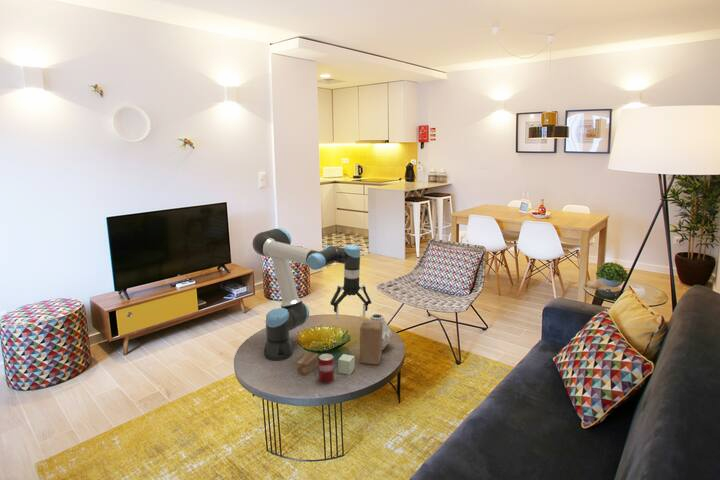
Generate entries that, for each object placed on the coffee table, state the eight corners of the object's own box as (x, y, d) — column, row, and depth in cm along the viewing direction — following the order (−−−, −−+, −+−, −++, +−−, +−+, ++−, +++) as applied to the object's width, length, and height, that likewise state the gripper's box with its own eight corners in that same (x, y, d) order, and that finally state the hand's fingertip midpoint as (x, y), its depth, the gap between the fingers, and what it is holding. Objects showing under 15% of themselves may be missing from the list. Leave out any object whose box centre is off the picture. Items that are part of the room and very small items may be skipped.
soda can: (318, 376, 222) (318, 353, 219) (333, 376, 222) (333, 353, 220) (318, 384, 215) (318, 360, 212) (334, 384, 215) (334, 360, 213)
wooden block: (378, 365, 233) (379, 328, 228) (359, 363, 235) (359, 326, 230) (381, 356, 242) (382, 320, 238) (363, 354, 244) (363, 319, 240)
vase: (359, 353, 245) (359, 320, 241) (364, 340, 261) (364, 309, 257) (390, 356, 243) (390, 323, 238) (393, 342, 258) (393, 311, 254)
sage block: (338, 372, 226) (338, 359, 224) (343, 366, 231) (343, 353, 230) (349, 374, 224) (349, 361, 222) (354, 369, 229) (354, 356, 228)
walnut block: (297, 373, 224) (297, 362, 223) (309, 362, 235) (309, 352, 234) (306, 376, 222) (306, 364, 221) (318, 364, 233) (318, 353, 232)
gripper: (327, 280, 220) (326, 321, 225) (378, 278, 225) (376, 319, 230) (325, 275, 227) (324, 315, 232) (375, 273, 232) (373, 313, 237)
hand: (350, 317), depth 231 cm, fingers open, 13 cm apart
